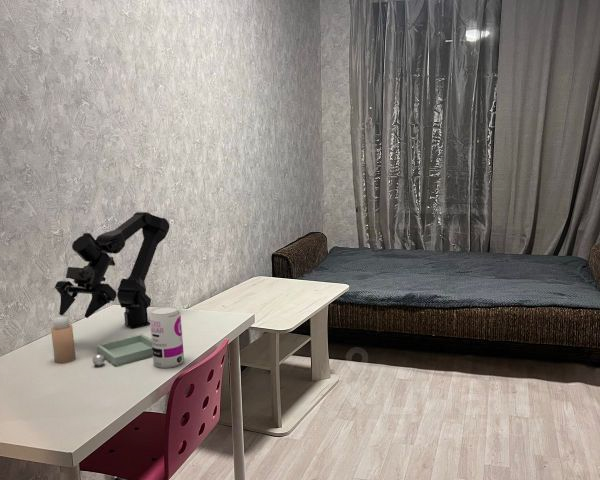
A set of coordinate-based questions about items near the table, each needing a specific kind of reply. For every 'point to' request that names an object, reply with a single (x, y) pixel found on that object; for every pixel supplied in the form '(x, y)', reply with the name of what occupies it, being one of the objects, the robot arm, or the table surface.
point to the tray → (126, 350)
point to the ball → (98, 360)
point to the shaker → (63, 340)
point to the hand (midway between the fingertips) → (73, 316)
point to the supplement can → (166, 337)
